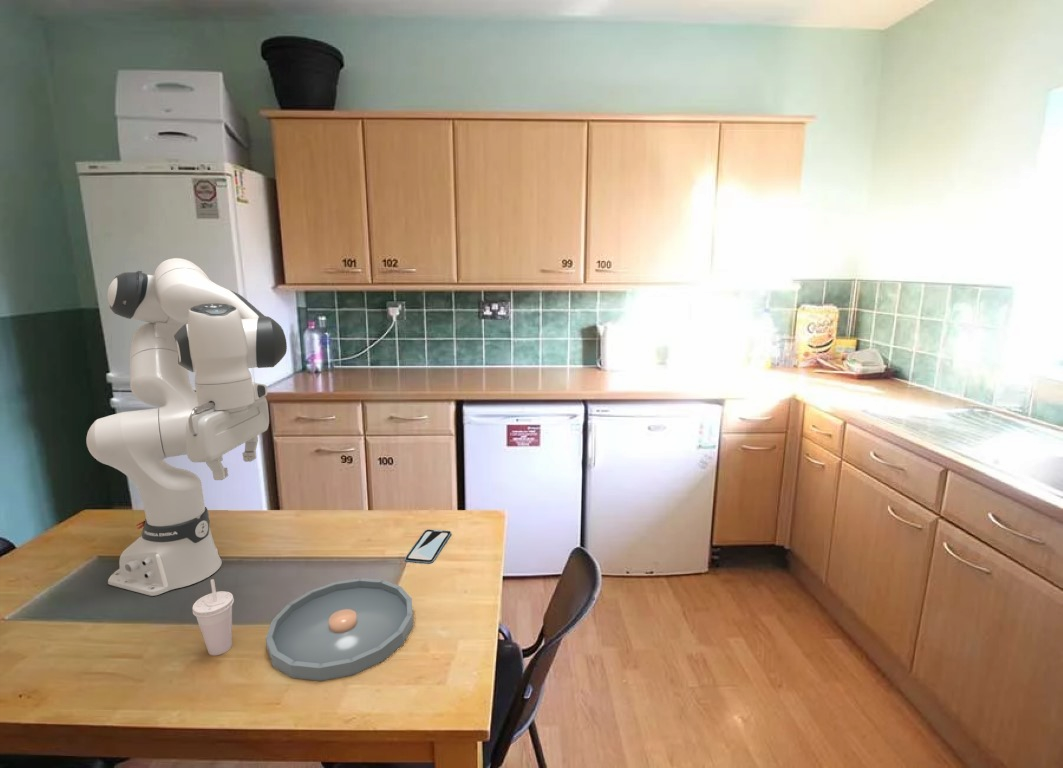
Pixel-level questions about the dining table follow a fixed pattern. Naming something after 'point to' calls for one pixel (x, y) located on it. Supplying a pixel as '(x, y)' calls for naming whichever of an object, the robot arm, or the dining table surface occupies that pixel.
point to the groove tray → (340, 629)
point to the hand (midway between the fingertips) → (236, 469)
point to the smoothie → (215, 620)
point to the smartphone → (428, 546)
